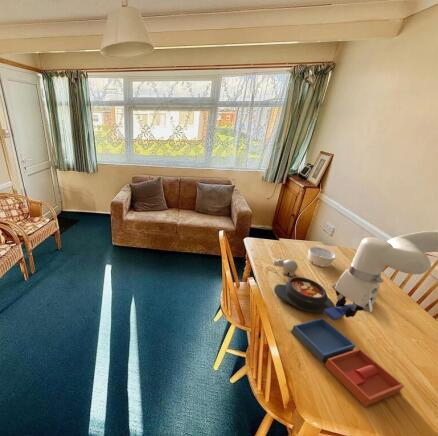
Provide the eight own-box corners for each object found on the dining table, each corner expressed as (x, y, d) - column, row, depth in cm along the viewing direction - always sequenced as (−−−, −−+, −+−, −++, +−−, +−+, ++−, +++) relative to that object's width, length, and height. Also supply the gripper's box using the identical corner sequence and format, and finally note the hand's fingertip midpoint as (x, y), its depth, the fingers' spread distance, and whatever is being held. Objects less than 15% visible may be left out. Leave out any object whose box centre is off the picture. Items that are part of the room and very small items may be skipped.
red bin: (399, 392, 74) (404, 385, 72) (365, 406, 70) (369, 399, 69) (355, 354, 85) (359, 348, 84) (324, 365, 82) (327, 358, 80)
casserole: (274, 305, 107) (279, 292, 104) (272, 281, 123) (276, 269, 119) (339, 323, 98) (346, 309, 95) (327, 295, 114) (333, 282, 110)
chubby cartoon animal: (273, 264, 137) (276, 252, 134) (296, 272, 130) (300, 260, 127) (270, 270, 132) (273, 258, 129) (293, 278, 125) (298, 266, 122)
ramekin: (309, 253, 148) (312, 244, 146) (334, 262, 140) (338, 252, 137) (303, 261, 140) (306, 252, 137) (328, 271, 131) (333, 261, 129)
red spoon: (365, 367, 81) (368, 361, 79) (378, 378, 77) (382, 372, 76) (341, 375, 78) (344, 370, 77) (354, 387, 74) (357, 382, 73)
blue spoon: (345, 307, 88) (348, 301, 86) (356, 315, 84) (359, 309, 83) (322, 312, 85) (325, 306, 84) (333, 321, 81) (336, 315, 80)
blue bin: (352, 351, 87) (355, 345, 85) (321, 361, 83) (324, 355, 81) (319, 323, 98) (322, 317, 97) (291, 331, 94) (293, 325, 93)
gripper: (400, 286, 71) (376, 328, 79) (346, 257, 85) (330, 295, 93) (383, 290, 69) (360, 333, 77) (331, 260, 84) (315, 298, 91)
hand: (343, 312), depth 85 cm, fingers closed on blue spoon, 3 cm apart
